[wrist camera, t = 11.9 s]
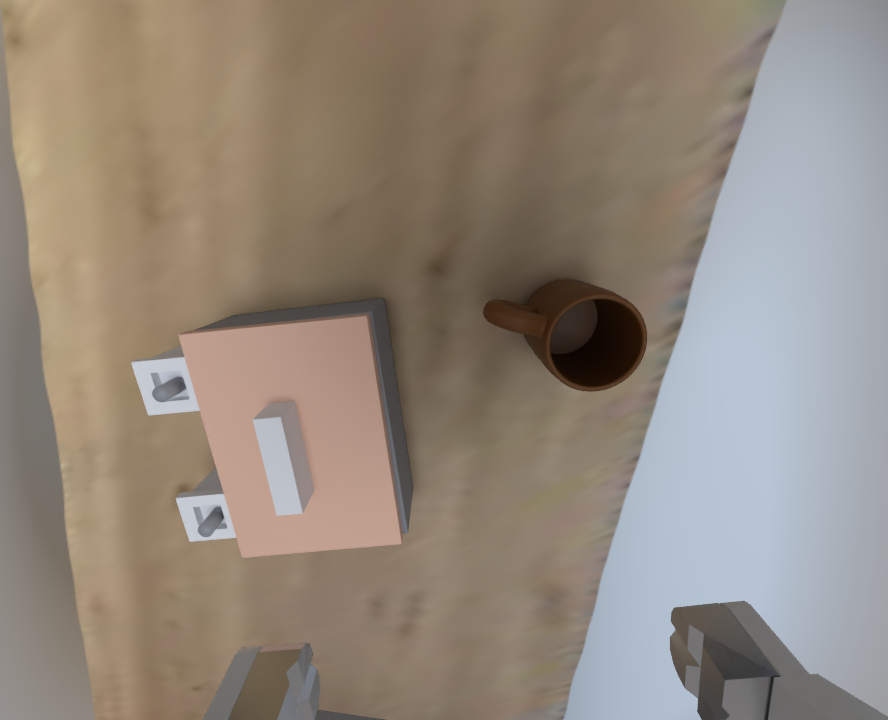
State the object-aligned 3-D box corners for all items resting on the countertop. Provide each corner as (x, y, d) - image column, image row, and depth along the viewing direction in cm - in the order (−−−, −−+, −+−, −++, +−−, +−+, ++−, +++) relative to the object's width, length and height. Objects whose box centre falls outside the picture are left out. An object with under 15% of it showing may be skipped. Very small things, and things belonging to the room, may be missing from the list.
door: (131, 336, 32) (86, 351, 28) (369, 313, 32) (358, 324, 28) (200, 551, 38) (171, 589, 34) (402, 534, 37) (398, 570, 33)
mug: (464, 334, 39) (471, 364, 30) (488, 254, 37) (503, 260, 28) (584, 366, 40) (625, 405, 31) (614, 290, 38) (667, 307, 29)
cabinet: (191, 319, 39) (115, 345, 30) (383, 297, 38) (366, 317, 29) (245, 504, 44) (194, 572, 35) (413, 487, 44) (405, 552, 35)
